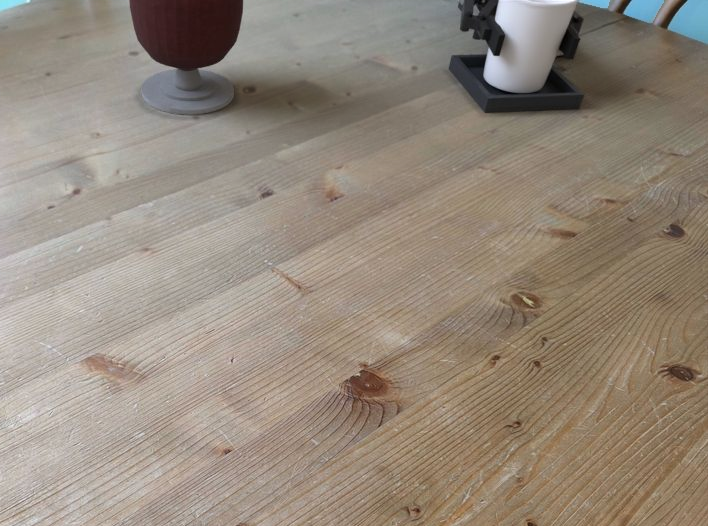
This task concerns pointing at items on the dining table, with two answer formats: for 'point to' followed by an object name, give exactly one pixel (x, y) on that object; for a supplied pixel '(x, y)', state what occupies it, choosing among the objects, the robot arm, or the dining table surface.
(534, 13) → the white cup
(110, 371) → the dining table surface
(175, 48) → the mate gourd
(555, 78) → the shallow tray
